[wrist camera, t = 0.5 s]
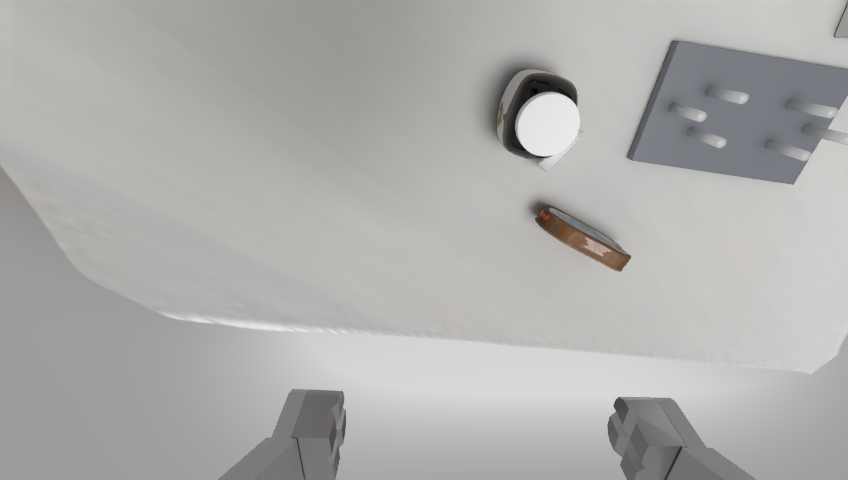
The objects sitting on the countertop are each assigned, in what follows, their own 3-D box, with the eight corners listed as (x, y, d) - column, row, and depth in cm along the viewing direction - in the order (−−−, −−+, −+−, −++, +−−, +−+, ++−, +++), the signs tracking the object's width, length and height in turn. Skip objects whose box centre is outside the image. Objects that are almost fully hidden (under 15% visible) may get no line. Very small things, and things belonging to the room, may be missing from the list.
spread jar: (510, 61, 51) (531, 69, 41) (592, 82, 52) (633, 94, 42) (483, 151, 57) (495, 177, 46) (558, 168, 58) (586, 198, 47)
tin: (528, 212, 61) (542, 237, 54) (540, 195, 60) (556, 218, 52) (605, 253, 64) (628, 282, 57) (618, 238, 63) (644, 265, 55)
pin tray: (672, 41, 50) (709, 42, 43) (850, 71, 51) (913, 77, 45) (627, 157, 57) (653, 174, 50) (785, 181, 58) (830, 200, 52)
